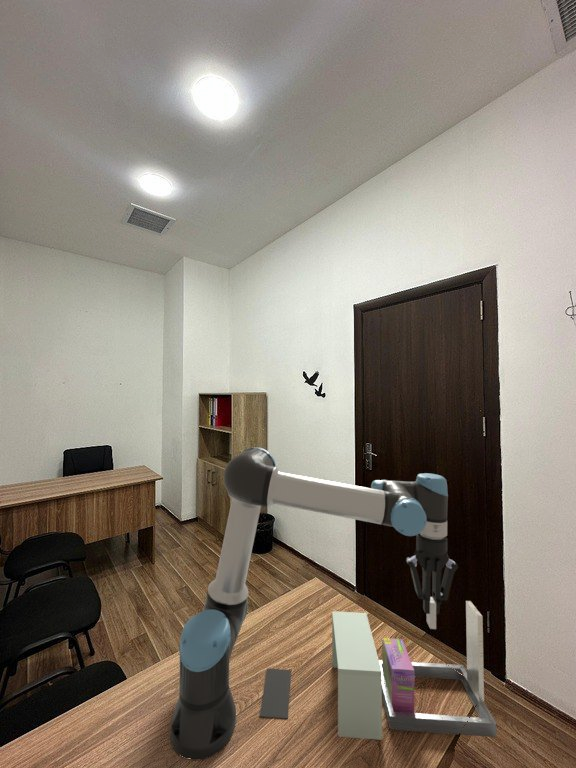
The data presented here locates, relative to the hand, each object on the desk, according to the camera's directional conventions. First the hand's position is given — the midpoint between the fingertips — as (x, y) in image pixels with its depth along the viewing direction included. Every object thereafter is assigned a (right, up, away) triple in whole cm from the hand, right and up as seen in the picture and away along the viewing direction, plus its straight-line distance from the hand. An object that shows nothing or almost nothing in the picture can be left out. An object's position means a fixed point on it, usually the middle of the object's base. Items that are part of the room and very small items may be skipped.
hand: (431, 625), depth 84 cm
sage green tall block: (-20, -19, 0) cm, 28 cm away
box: (-9, -19, 0) cm, 21 cm away
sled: (-1, -19, -1) cm, 19 cm away
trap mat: (-41, -19, +2) cm, 45 cm away
